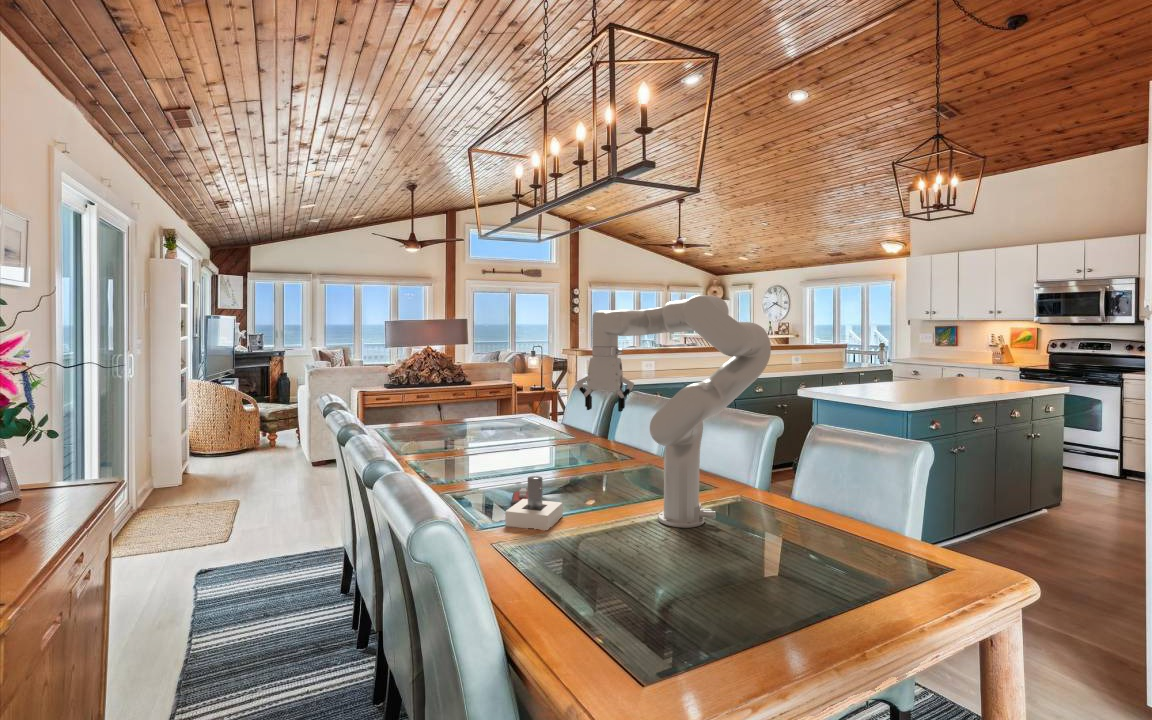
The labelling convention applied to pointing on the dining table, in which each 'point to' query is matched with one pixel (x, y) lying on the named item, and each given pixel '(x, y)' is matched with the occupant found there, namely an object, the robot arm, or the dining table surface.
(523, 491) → the walkie-talkie
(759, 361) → the robot arm
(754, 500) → the dining table surface
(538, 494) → the peg
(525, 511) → the socket block
